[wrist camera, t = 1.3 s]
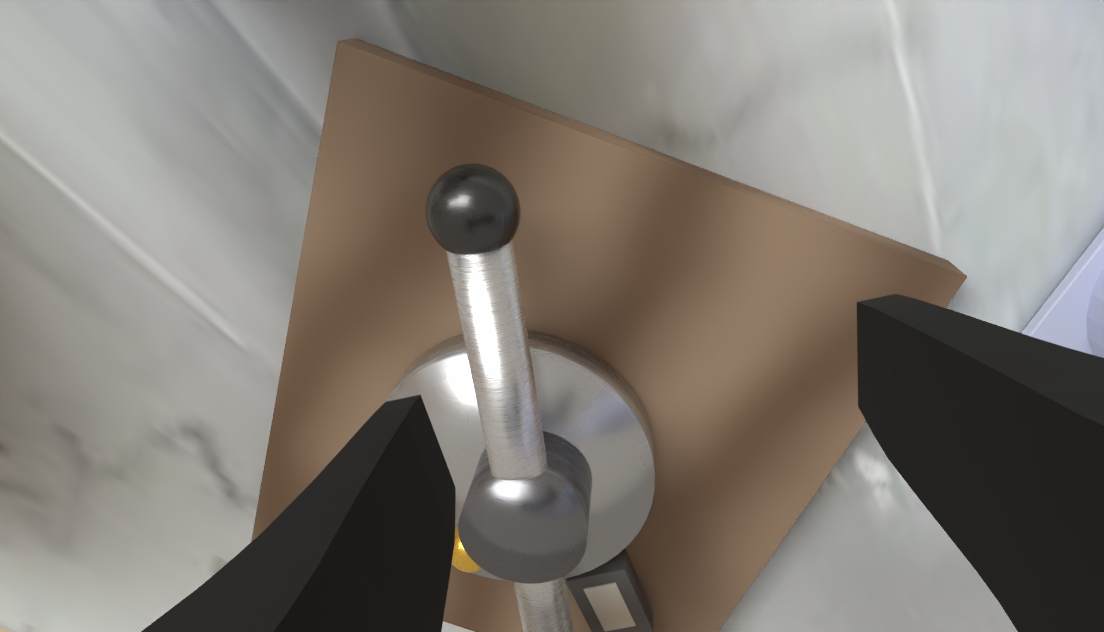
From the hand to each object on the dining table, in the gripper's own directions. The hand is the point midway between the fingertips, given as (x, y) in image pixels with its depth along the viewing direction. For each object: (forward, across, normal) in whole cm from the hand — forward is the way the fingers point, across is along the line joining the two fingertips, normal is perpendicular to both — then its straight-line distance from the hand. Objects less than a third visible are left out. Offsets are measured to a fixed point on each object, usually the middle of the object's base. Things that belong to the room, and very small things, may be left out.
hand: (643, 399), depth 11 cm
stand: (+10, +3, +7) cm, 13 cm away
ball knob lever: (+9, +4, +7) cm, 12 cm away
